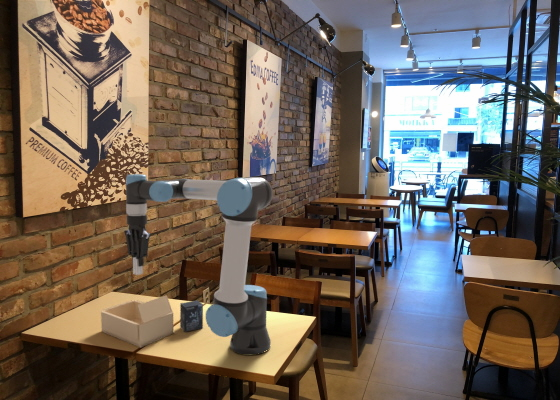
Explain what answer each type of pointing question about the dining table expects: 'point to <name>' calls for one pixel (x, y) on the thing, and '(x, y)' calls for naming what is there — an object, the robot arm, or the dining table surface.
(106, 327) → the carton
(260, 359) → the dining table surface
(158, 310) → the flap
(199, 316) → the box
